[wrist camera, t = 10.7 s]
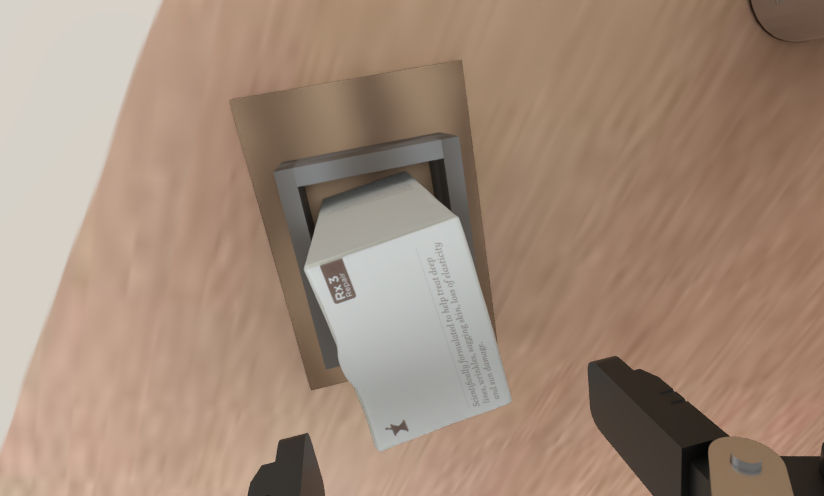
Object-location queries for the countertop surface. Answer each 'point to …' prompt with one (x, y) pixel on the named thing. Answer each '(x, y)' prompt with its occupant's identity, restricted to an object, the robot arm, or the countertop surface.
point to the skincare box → (405, 309)
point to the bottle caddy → (355, 172)
